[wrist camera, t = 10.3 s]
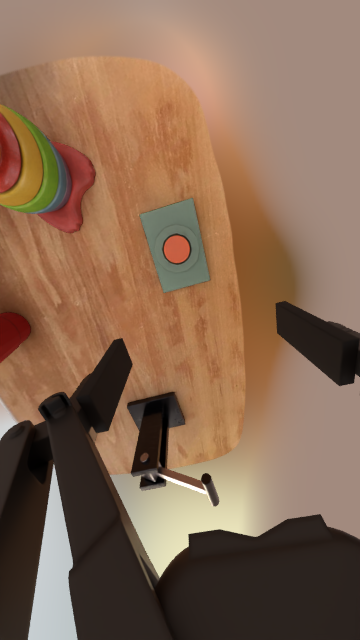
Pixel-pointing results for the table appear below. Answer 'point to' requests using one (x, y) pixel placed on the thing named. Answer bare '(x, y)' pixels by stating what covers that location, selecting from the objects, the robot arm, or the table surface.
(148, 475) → the lever
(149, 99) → the table surface
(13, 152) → the stacking bear
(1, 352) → the plastic cup
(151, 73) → the table surface
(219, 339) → the table surface
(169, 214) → the control block
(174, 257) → the button
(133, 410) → the bracket
